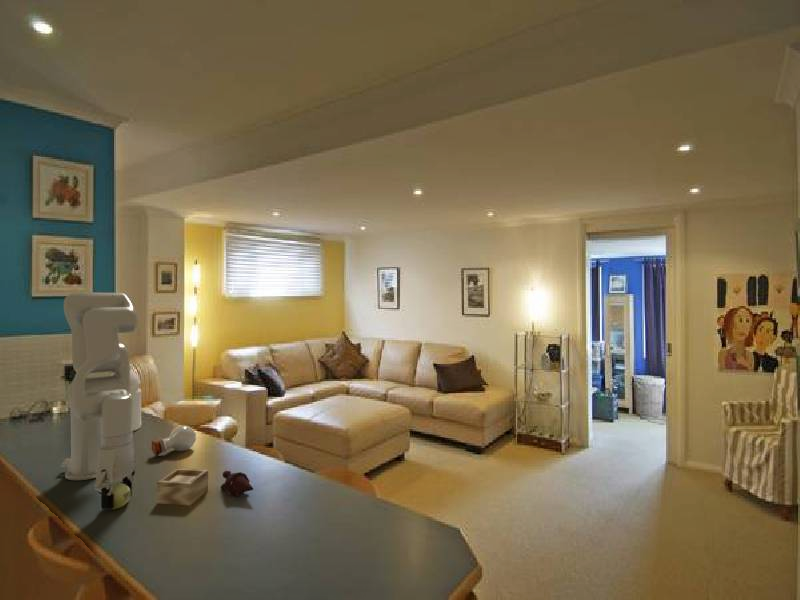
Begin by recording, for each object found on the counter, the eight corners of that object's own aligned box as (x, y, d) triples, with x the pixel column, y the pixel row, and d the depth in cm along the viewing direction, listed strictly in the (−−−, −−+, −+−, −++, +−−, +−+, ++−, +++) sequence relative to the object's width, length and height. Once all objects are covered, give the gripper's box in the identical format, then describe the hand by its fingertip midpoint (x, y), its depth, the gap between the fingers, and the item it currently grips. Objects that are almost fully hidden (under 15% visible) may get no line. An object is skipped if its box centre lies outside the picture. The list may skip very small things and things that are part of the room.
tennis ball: (122, 487, 126) (132, 477, 133) (96, 492, 125) (108, 481, 132) (126, 509, 127) (136, 498, 133) (100, 514, 126) (111, 503, 132)
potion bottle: (198, 450, 178) (159, 466, 166) (186, 432, 182) (147, 446, 170) (203, 435, 174) (163, 450, 162) (191, 416, 178) (151, 430, 166)
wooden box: (157, 503, 131) (157, 481, 131) (177, 488, 141) (177, 468, 141) (190, 505, 131) (190, 483, 130) (208, 490, 141) (208, 470, 140)
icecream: (265, 475, 137) (235, 467, 146) (244, 476, 131) (214, 468, 140) (261, 500, 135) (231, 490, 144) (239, 502, 129) (209, 492, 138)
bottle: (128, 434, 191) (129, 367, 190) (96, 433, 191) (96, 367, 191) (147, 424, 205) (148, 362, 204) (117, 424, 205) (117, 361, 205)
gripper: (125, 429, 138) (125, 488, 138) (80, 449, 121) (80, 516, 121) (149, 430, 137) (149, 489, 138) (107, 450, 120) (107, 518, 120)
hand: (117, 501), depth 129 cm, fingers closed on tennis ball, 6 cm apart
